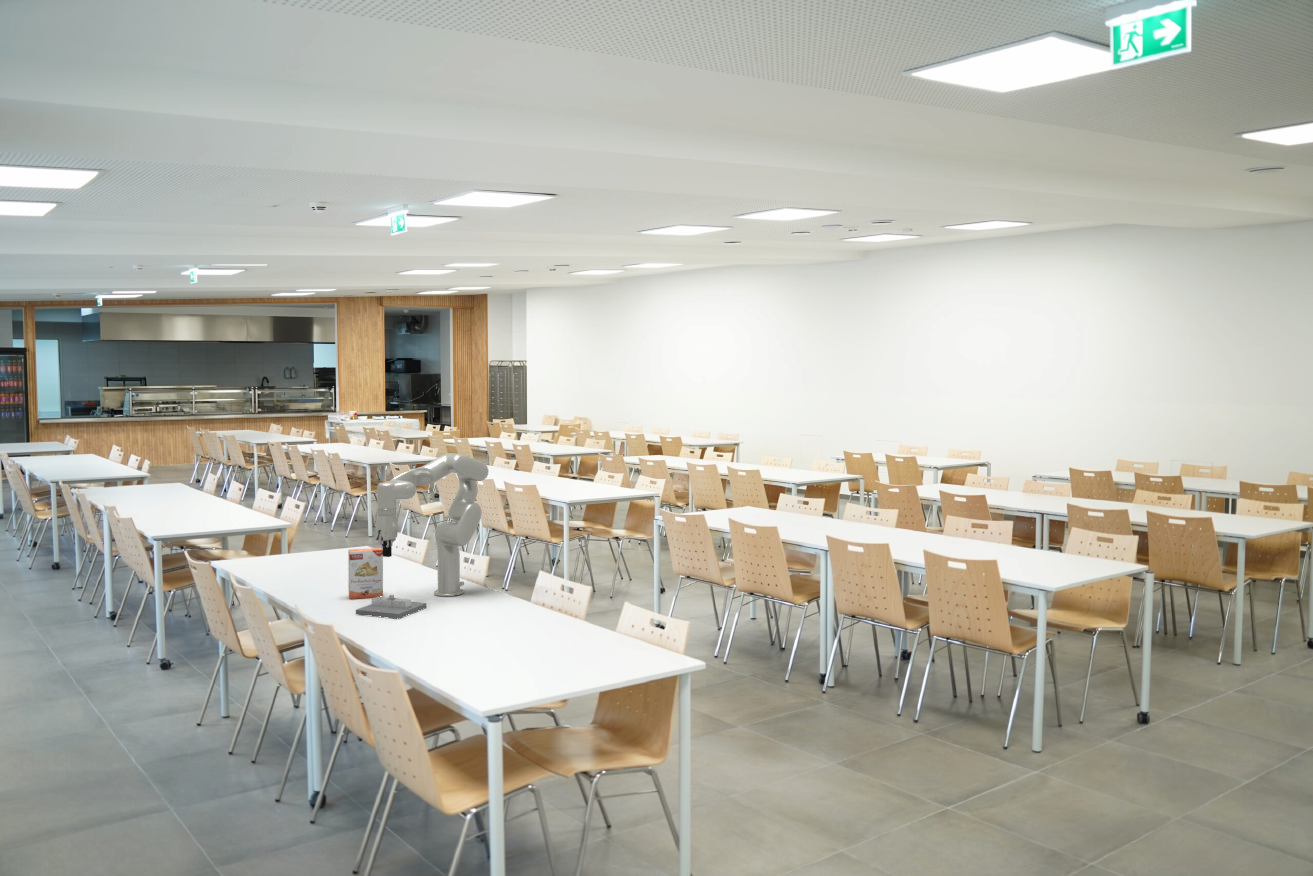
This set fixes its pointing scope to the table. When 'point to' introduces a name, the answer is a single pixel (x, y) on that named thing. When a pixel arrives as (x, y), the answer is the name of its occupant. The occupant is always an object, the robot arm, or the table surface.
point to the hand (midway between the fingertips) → (387, 556)
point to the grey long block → (391, 602)
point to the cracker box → (365, 573)
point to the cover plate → (390, 610)
